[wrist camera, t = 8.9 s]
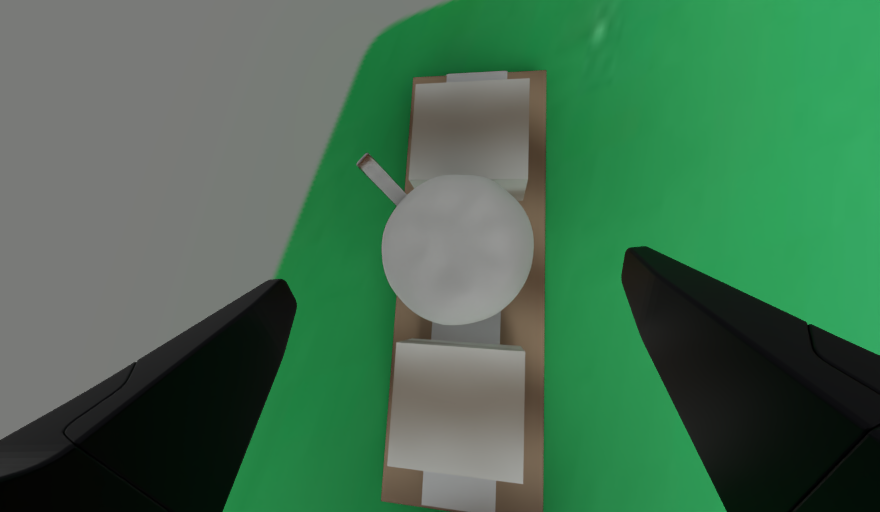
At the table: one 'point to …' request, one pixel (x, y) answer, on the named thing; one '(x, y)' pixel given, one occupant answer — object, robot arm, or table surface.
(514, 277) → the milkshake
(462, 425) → the wooden board with pads
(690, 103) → the table surface
